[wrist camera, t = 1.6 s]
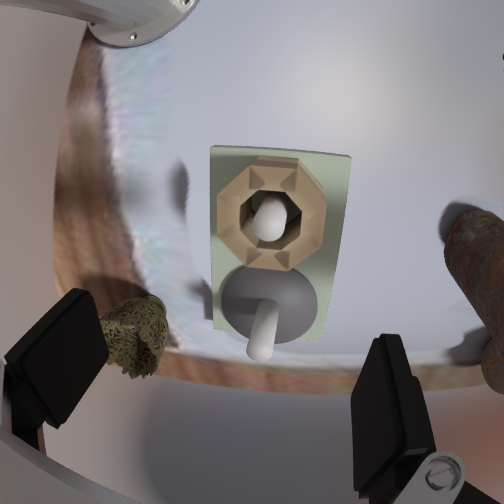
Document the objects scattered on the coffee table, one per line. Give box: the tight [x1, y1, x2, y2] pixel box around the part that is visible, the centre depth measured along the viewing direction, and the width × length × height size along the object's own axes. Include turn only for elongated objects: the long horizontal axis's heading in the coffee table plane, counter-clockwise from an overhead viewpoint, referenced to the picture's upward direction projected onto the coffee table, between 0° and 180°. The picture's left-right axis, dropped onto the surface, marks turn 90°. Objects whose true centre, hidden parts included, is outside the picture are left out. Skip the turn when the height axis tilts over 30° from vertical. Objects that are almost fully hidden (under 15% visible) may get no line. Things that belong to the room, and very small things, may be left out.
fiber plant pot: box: [99, 295, 169, 379], centre depth 29 cm, size 8×7×8 cm
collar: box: [217, 155, 327, 271], centre depth 22 cm, size 7×7×5 cm
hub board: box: [210, 145, 351, 361], centre depth 24 cm, size 18×11×8 cm, turn 178°
